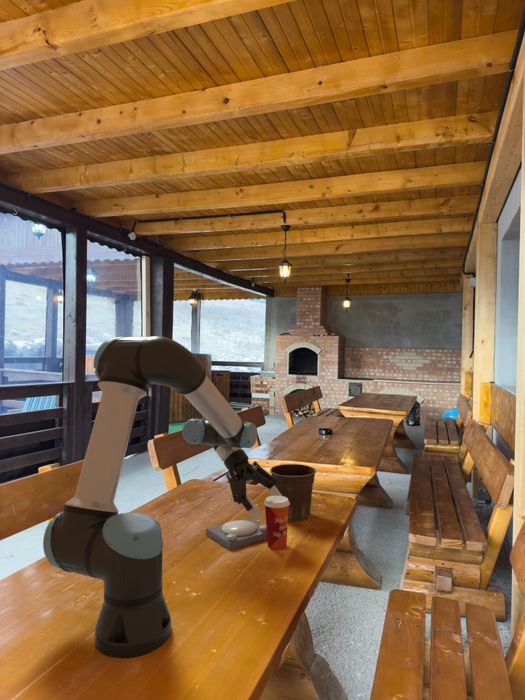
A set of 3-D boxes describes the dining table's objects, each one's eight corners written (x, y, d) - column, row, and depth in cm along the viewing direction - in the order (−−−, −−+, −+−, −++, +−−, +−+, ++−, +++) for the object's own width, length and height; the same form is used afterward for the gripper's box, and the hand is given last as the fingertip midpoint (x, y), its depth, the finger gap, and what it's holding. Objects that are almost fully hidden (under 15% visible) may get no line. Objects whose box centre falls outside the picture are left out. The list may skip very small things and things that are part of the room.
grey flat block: (229, 549, 137) (229, 539, 137) (206, 534, 148) (206, 525, 148) (273, 536, 146) (273, 527, 146) (248, 523, 158) (248, 514, 158)
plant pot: (318, 524, 157) (318, 475, 157) (270, 524, 157) (269, 475, 157) (314, 507, 173) (313, 463, 173) (270, 507, 173) (270, 463, 173)
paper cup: (280, 553, 134) (279, 505, 134) (258, 547, 139) (258, 499, 139) (295, 544, 140) (295, 497, 140) (274, 538, 145) (274, 493, 145)
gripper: (249, 455, 162) (286, 506, 154) (199, 471, 142) (239, 531, 133) (261, 441, 159) (300, 493, 151) (213, 455, 139) (254, 517, 130)
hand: (271, 511), depth 142 cm, fingers open, 13 cm apart
